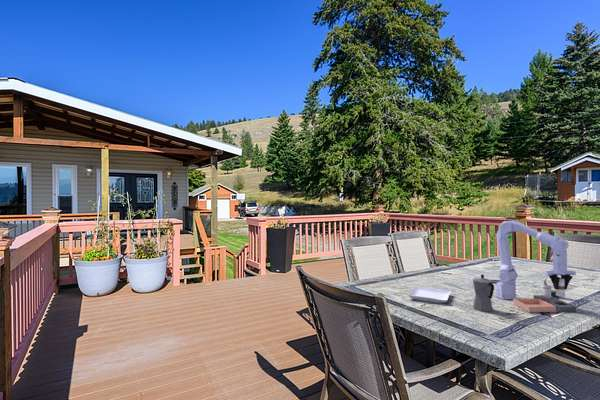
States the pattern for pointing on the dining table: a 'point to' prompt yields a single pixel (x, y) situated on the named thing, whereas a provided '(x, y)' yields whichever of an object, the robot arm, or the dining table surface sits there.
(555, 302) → the fuse holder
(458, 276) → the dining table surface
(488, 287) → the coffeepot
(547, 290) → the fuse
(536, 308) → the parts tray
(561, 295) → the cylinder
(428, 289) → the salad plate
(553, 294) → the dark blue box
